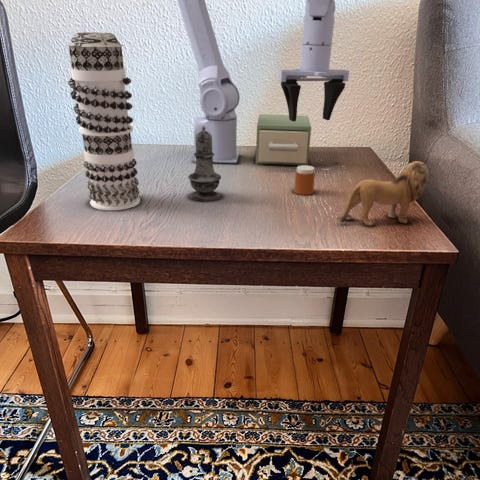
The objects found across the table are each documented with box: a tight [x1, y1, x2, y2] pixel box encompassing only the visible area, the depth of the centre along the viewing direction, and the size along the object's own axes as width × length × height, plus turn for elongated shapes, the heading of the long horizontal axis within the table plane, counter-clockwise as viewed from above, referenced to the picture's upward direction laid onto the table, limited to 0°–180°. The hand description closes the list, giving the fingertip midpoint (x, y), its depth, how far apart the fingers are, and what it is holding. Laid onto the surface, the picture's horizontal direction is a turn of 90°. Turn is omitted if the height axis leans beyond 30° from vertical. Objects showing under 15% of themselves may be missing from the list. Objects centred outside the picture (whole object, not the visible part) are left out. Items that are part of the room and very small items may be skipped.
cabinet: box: [255, 113, 312, 166], centre depth 108 cm, size 14×12×8 cm
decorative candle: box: [66, 31, 141, 211], centre depth 74 cm, size 9×9×25 cm
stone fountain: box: [187, 126, 222, 202], centre depth 81 cm, size 6×6×12 cm
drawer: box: [258, 129, 309, 163], centre depth 104 cm, size 17×10×6 cm, turn 176°
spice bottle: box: [293, 165, 316, 196], centre depth 87 cm, size 4×4×4 cm
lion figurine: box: [339, 160, 430, 227], centre depth 73 cm, size 15×5×9 cm, turn 110°
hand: (309, 119), depth 98 cm, fingers open, 7 cm apart
